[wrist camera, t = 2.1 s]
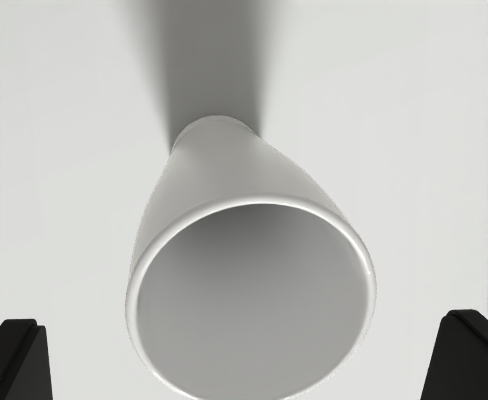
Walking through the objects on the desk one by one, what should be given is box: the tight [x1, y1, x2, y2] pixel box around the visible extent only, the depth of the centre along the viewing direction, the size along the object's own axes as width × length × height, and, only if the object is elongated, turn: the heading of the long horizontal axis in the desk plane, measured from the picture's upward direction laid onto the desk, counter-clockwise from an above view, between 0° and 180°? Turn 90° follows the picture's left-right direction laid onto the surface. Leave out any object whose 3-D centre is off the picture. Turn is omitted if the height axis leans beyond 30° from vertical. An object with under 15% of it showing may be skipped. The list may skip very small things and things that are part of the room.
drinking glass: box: [125, 115, 377, 400], centre depth 18 cm, size 7×7×15 cm
